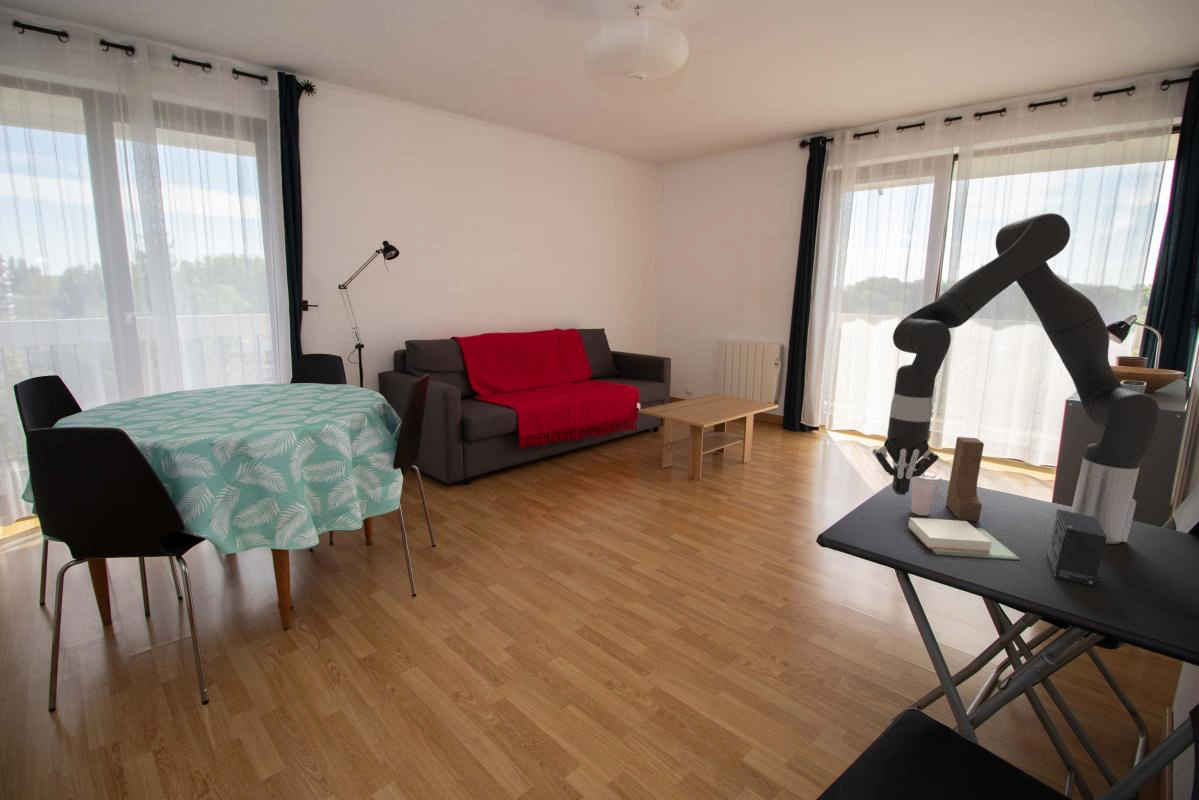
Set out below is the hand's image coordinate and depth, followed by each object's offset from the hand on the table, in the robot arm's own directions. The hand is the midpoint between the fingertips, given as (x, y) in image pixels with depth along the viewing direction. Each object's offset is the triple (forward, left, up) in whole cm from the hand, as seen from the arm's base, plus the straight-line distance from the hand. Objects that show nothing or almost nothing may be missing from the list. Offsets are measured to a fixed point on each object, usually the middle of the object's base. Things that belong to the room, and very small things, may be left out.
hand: (899, 493), depth 120 cm
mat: (-14, 0, -10) cm, 17 cm away
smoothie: (-12, -15, -11) cm, 22 cm away
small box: (-29, +10, -11) cm, 33 cm away
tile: (-5, 0, -9) cm, 10 cm away
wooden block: (-22, -16, -11) cm, 29 cm away
